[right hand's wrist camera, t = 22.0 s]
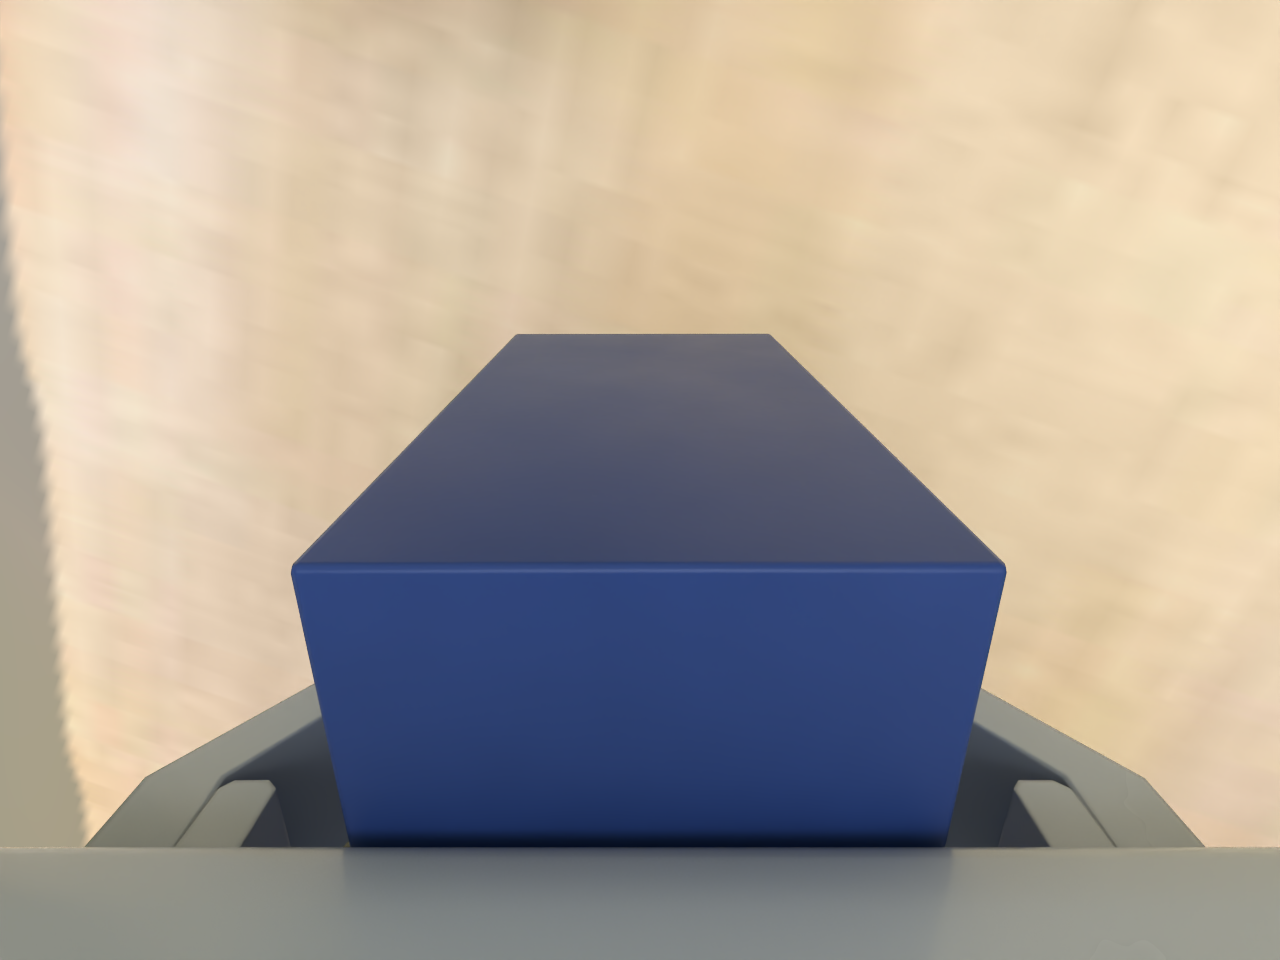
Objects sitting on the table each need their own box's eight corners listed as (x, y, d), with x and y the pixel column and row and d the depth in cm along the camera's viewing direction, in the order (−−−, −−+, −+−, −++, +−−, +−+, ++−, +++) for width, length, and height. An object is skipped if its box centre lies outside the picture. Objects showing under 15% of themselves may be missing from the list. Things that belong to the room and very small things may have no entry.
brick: (771, 333, 13) (1012, 565, 5) (747, 667, 16) (870, 1191, 8) (515, 333, 13) (285, 566, 5) (537, 667, 16) (422, 1191, 8)
